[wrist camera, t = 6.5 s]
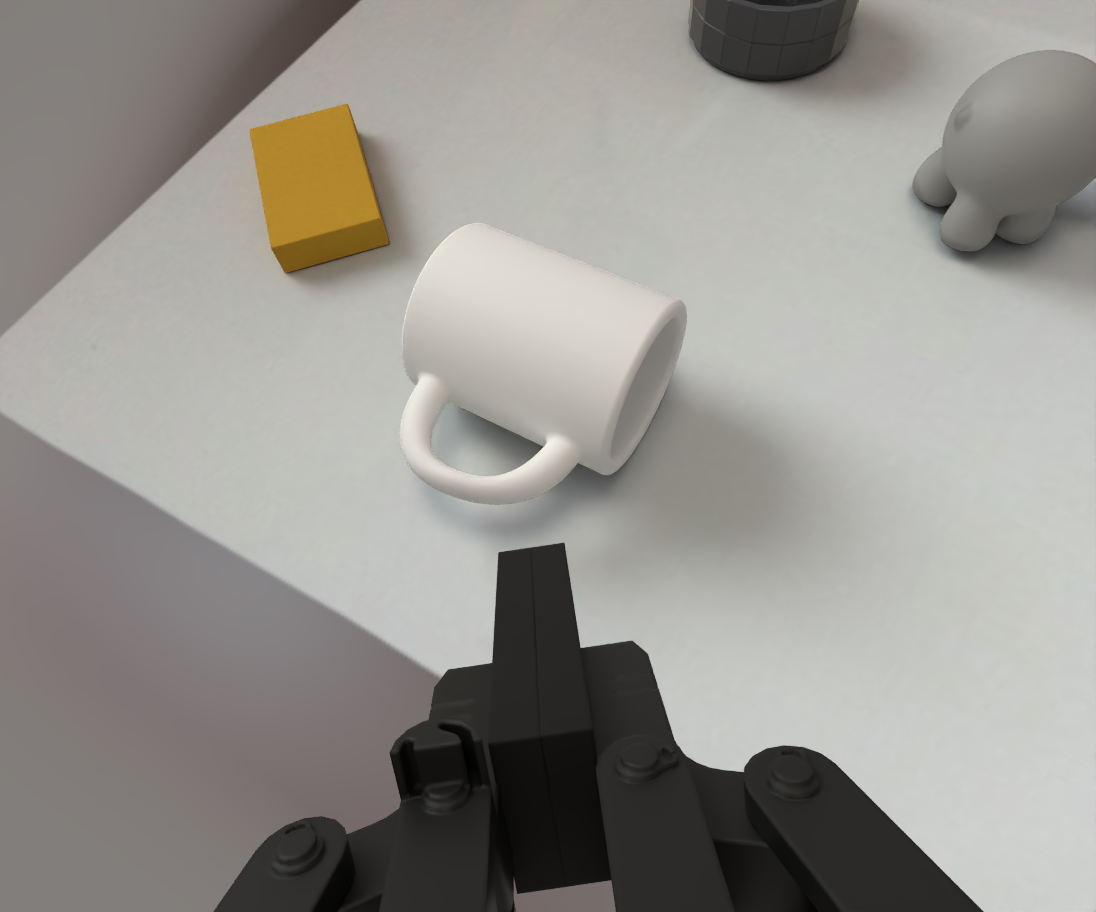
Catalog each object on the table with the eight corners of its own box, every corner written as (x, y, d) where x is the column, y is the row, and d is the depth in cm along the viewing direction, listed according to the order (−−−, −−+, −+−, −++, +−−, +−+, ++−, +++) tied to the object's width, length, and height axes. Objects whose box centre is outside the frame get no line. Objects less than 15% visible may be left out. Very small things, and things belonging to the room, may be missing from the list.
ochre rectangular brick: (285, 273, 41) (270, 248, 40) (262, 156, 46) (248, 128, 44) (390, 244, 42) (380, 217, 40) (357, 131, 46) (347, 102, 45)
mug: (506, 302, 39) (485, 182, 32) (680, 374, 37) (698, 261, 30) (374, 483, 35) (316, 391, 28) (560, 581, 32) (548, 507, 25)
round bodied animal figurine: (1169, 245, 38) (1308, 97, 31) (934, 272, 38) (1015, 131, 31) (1107, 148, 42) (1218, -6, 34) (892, 173, 42) (955, 26, 34)
